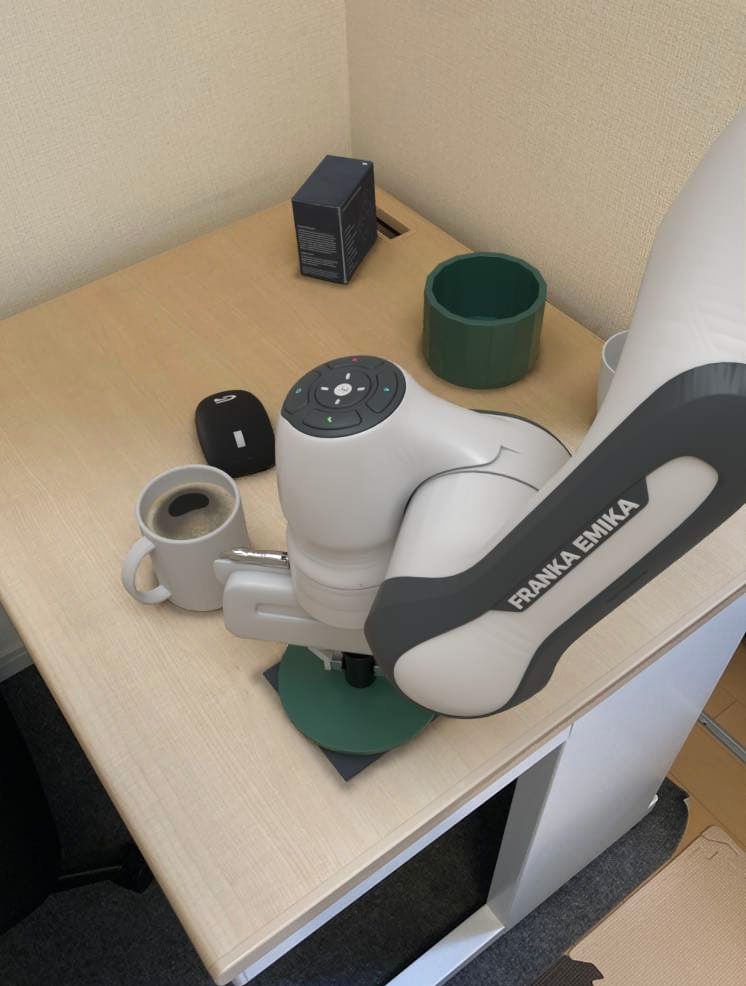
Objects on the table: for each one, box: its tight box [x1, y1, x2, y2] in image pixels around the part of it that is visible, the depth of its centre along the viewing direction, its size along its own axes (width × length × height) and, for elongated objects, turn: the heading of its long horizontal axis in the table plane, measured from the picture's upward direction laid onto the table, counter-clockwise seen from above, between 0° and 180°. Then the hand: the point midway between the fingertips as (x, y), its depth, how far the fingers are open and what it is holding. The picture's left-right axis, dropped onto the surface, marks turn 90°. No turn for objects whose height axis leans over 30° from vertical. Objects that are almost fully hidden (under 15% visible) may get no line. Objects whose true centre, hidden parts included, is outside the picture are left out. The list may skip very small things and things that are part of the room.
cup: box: [596, 329, 628, 415], centre depth 89 cm, size 8×8×10 cm
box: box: [290, 154, 379, 284], centre depth 110 cm, size 11×7×10 cm, turn 157°
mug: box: [121, 463, 252, 612], centre depth 80 cm, size 11×10×10 cm
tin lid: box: [278, 644, 435, 755], centre depth 73 cm, size 14×14×6 cm
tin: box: [422, 251, 548, 390], centre depth 98 cm, size 13×13×8 cm
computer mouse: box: [194, 389, 276, 479], centre depth 93 cm, size 8×12×4 cm, turn 18°
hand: (360, 666), depth 73 cm, fingers closed on tin lid, 2 cm apart
